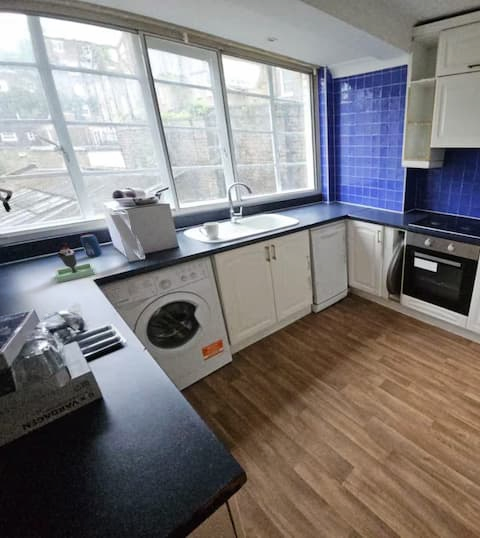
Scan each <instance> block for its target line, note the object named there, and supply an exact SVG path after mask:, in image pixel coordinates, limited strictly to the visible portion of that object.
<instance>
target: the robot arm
mask: <svg viewBox="0 0 480 538" xmlns="http://www.w3.org/2000/svg"><path fill="white" fill-rule="evenodd" d="M1 193H4V194H5V193H6V196H5V197H4V196H2V194H1ZM12 196H13V191H12V190H10V189H5V188H1V187H0V202H2V203H1V204H2V206H3V207H4V210H5V212H6V213H10V212H11V210H12V208H11V205H10V204H9V201H10V200H11V199H12Z"/></svg>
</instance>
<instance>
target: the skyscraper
mask: <svg viewBox="0 0 480 538" xmlns="http://www.w3.org/2000/svg"><path fill="white" fill-rule="evenodd" d="M123 211H124V212H123ZM109 215H110V217H111V219H112V222H113V224H114V226H115V228H116V229H117V232H118V233H119V236H120V240H121V244H122V247H123V249H124V252H125V254H126V257H127V260H128V261H129V263H133V262H138V261H144V260H146V255H145V251H144V249H143V247H142V244H141V242H140V240H139V238H138V235H137V234H135V235H134V233H133V231H132V225H131V219H130V216H129V211H127V209H123V208H122V209H121V208H120V209H117V210H116V211H113V212H110V213H109Z"/></svg>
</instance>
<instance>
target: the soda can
mask: <svg viewBox="0 0 480 538" xmlns="http://www.w3.org/2000/svg"><path fill="white" fill-rule="evenodd" d="M80 243H81V246H82V248H83V250H84V252H85V255H86V256H87V257H88V258H97V257H101V256H102V254H103V251H102V248H101V246H100V243H99V241H98V238H97V236H96V235H94V234H93V233H90V234H83V235H81V236H80Z"/></svg>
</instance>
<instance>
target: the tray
mask: <svg viewBox="0 0 480 538" xmlns="http://www.w3.org/2000/svg"><path fill="white" fill-rule="evenodd" d="M75 270H76V271H81V272H77V273H72V268H70V267H66V268H61V269H56V270H55V280H56V282H57V283H62V282H63V283H64V282H66V281H71V280H75V279H79V278H83V277H88V276H92V275H95V271H94V267H93V265H92V263H91V262H89V263H84V264H79V265H76V266H75ZM70 273H72V274H70Z"/></svg>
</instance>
